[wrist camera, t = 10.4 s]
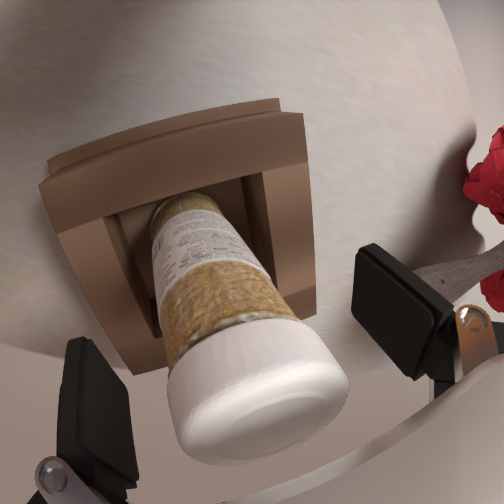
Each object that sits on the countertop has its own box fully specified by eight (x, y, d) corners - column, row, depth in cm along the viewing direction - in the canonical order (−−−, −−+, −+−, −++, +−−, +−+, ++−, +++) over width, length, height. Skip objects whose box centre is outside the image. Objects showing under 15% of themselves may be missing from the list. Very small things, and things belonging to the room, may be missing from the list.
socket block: (53, 157, 14) (21, 176, 10) (270, 98, 17) (314, 98, 12) (126, 332, 21) (128, 384, 16) (292, 278, 24) (325, 318, 19)
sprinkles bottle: (203, 268, 19) (290, 465, 8) (137, 245, 17) (155, 472, 6) (237, 205, 18) (385, 374, 7) (168, 175, 16) (236, 362, 5)
